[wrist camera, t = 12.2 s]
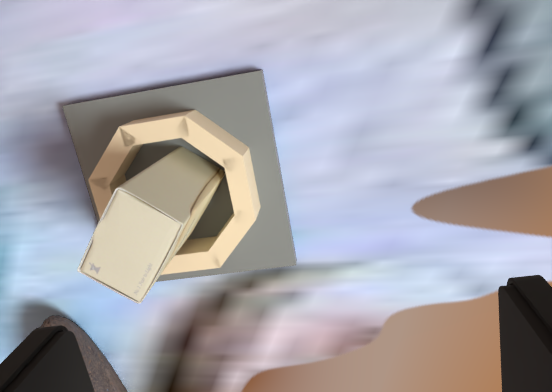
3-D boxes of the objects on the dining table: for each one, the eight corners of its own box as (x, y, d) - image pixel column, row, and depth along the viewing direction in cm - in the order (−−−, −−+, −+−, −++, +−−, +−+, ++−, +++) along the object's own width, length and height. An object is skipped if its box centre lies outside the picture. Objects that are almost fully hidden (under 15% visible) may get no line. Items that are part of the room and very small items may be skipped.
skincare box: (193, 231, 40) (140, 310, 28) (146, 205, 39) (73, 274, 28) (228, 168, 38) (186, 226, 26) (178, 140, 37) (114, 186, 26)
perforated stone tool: (41, 308, 45) (-8, 355, 38) (88, 294, 44) (47, 339, 37) (109, 430, 49) (76, 491, 42) (155, 420, 48) (128, 481, 41)
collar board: (262, 69, 36) (255, 73, 32) (296, 259, 41) (294, 282, 37) (68, 104, 38) (40, 111, 34) (122, 280, 43) (102, 304, 39)
